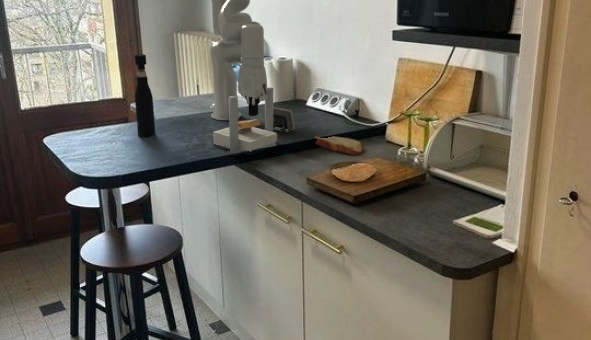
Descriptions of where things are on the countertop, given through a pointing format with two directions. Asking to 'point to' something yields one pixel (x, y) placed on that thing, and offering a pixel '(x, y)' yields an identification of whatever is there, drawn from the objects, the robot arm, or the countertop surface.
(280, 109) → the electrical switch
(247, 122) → the rocker
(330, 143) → the bread slice
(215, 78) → the robot arm
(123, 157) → the countertop surface
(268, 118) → the tall grey block
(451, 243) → the countertop surface
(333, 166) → the plant saucer
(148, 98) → the wine bottle
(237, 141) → the post
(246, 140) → the grey shallow tray
